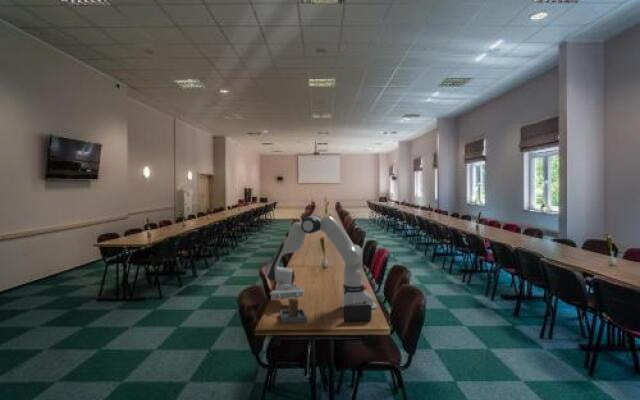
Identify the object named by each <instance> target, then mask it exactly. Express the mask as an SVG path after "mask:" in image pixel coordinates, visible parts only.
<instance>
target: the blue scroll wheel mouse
mask: <svg viewBox="0 0 640 400" xmlns="http://www.w3.org/2000/svg"><path fill="white" fill-rule="evenodd" d="M342 320H343V321H344V322H348V323H349V322H350V323H351V322H352V323H353V322H366V321H367V322H369V321H371V320H372V309H371V305H370V304H365V303H353V304H347V305H345V306H344V308H343V319H342Z"/></svg>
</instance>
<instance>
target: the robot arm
mask: <svg viewBox="0 0 640 400" xmlns="http://www.w3.org/2000/svg"><path fill="white" fill-rule="evenodd" d="M288 231H289V232H288V235H287V238H286V239H285V241H284V242H282V243H280V245H279V247H278V248H277V250H276V252H275V254H274V256H273V258H272V261H271V262H270V265H269V267H268V268H267V271H266V274H265V275H266V277H267V280H269V282H276V284H275V290H271V291H270V292H269V295H270V296H271V297H270V298H271V299H272V300H276V299H277V300H279V299H280V300H283V299H284V300H286V299H293V298H297V299H298V298H301V297H303V296H304V290H303V289H302V288H301V287H300V286H299V285H295V284H294V283H295V277H296V275H295V272H294V269H292V268H289V267H283V266H278V265H279V263H280V261H281V259H282V257H283V256H284V255H286V254H290V253H291V254H292V253H296V252H298V251H299V250H301V249H302V247H303V245H304V241H305V238H306V235H307V234H313V233H317V232H319V231H321V232H323V234H325V236H326V238H328V239H329V241H330V242H331V243H332V245H334V247H335V248H336V250H337V252H338V254H339V255H340V256H341V258H342V260H343V262H344V263H345V264H344V271H343V273H344V274H343V275H344V276H343V277H344V278H343V287H342V290H343V291H342V293H343V295H342V296H343V297H342V302H341V308H342V309H344V306H345V305H347V304H353V303H365V304H370V305H371V310H373V309H374V310H375V309H377V308H378V306H377V304H376V303H375V302H374V299H373V297H372V296H371V294H370V293H368V292H367V291H366V290H367V286H365V285H364V284H362V269H363V258H364V257H363V256H364V255H363V254H364V253H363V249H362V247H361V246H360V245H358V244H354V242H353V241H352V240H351V238H350V236H349V234H348V233H347V232H346V231H345V229H344V228H343V227H342V226H341V225H340V223H339V222H338V221H337V220H336V219H335V218H334V217H332V216H331V215H325V216H323V217H322V218H321V217H320V216H319V215H309V216H307V217H305V218H303V220H302V221H301V222H300V221H296V222H293V224H292V225H291V226H290V229H289V230H288Z"/></svg>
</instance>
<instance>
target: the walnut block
mask: <svg viewBox="0 0 640 400" xmlns="http://www.w3.org/2000/svg"><path fill="white" fill-rule="evenodd" d="M298 309H299V299H298V298H295V297H292V298H288V310H289V317H298Z"/></svg>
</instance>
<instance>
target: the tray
mask: <svg viewBox="0 0 640 400" xmlns="http://www.w3.org/2000/svg"><path fill="white" fill-rule="evenodd" d="M279 316H280V321H281V324H297V323H308V316H307V314H306V311H305V309H304V308H298V317H289V309H280V310H279Z"/></svg>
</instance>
